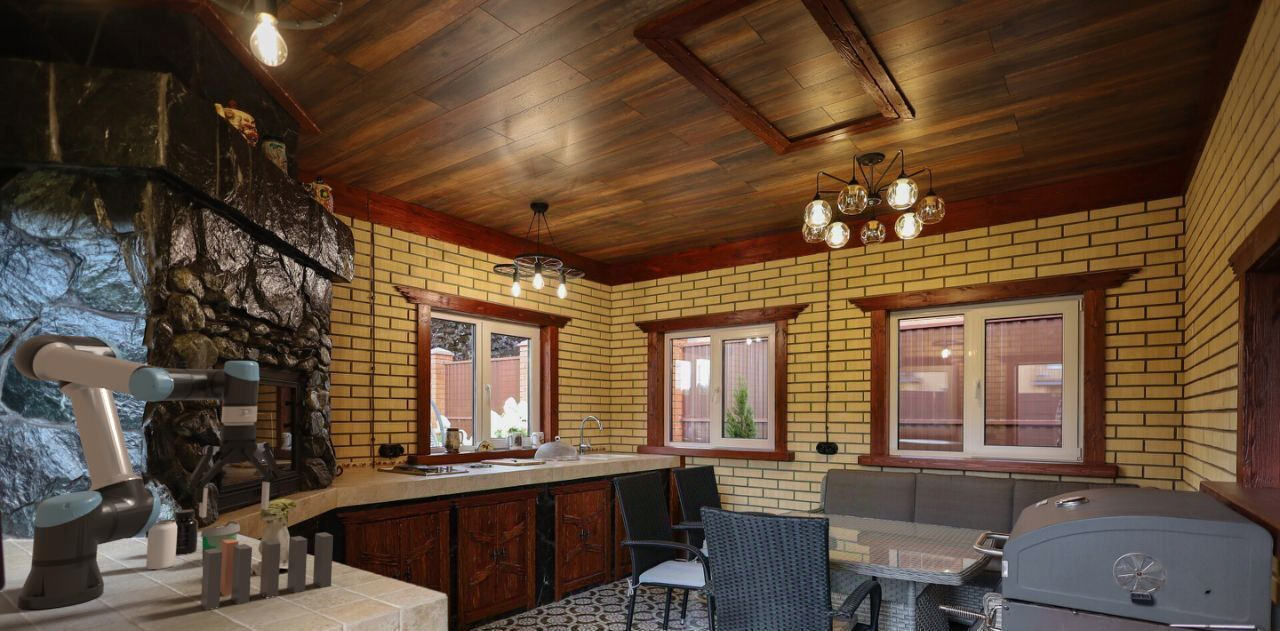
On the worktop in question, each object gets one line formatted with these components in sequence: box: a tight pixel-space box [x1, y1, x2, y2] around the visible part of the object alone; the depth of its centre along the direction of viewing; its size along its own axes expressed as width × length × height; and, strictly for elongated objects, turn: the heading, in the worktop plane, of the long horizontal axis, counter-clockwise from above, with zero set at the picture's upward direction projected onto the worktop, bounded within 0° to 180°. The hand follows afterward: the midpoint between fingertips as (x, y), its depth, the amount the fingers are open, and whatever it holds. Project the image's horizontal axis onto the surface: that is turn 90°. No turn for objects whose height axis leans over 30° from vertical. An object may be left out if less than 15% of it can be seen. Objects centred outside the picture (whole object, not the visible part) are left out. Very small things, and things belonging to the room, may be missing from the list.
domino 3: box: [230, 543, 253, 605], centre depth 158 cm, size 2×5×12 cm, turn 44°
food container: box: [200, 520, 241, 559], centre depth 194 cm, size 12×6×10 cm, turn 179°
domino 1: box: [200, 548, 222, 610], centre depth 154 cm, size 2×5×12 cm, turn 44°
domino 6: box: [312, 531, 334, 589], centre depth 171 cm, size 2×5×12 cm, turn 44°
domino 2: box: [220, 538, 239, 597], centre depth 165 cm, size 2×5×12 cm, turn 44°
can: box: [145, 519, 177, 570], centre depth 188 cm, size 6×6×12 cm
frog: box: [251, 498, 297, 576], centre depth 186 cm, size 12×13×18 cm
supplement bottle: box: [174, 509, 199, 555], centre depth 204 cm, size 7×7×12 cm
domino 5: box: [286, 535, 308, 594], centre depth 167 cm, size 2×5×12 cm, turn 44°
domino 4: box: [259, 540, 281, 598], centre depth 163 cm, size 2×5×12 cm, turn 44°
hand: (234, 512), depth 168 cm, fingers open, 13 cm apart
